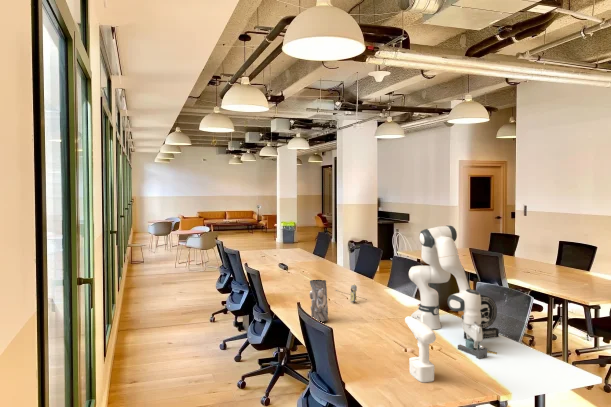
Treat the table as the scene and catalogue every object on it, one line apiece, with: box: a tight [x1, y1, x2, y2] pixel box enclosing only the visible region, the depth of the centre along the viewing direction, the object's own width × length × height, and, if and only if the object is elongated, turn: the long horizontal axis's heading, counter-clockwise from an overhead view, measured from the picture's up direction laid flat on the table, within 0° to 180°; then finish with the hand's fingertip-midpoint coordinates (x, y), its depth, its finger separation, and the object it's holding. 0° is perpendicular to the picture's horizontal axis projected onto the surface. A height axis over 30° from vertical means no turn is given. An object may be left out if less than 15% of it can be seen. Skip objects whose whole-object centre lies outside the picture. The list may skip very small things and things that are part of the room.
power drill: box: [404, 316, 437, 383], centre depth 212 cm, size 8×24×25 cm, turn 13°
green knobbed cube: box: [465, 338, 480, 350], centre depth 247 cm, size 5×5×5 cm
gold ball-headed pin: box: [487, 349, 498, 355], centre depth 240 cm, size 7×2×1 cm, turn 54°
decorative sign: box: [463, 294, 500, 340], centre depth 265 cm, size 22×3×25 cm, turn 105°
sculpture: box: [309, 279, 329, 323], centre depth 301 cm, size 12×12×28 cm
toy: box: [334, 284, 367, 303], centre depth 353 cm, size 10×26×15 cm, turn 107°
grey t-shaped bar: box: [457, 344, 488, 360], centre depth 239 cm, size 16×6×6 cm, turn 29°
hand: (472, 344), depth 247 cm, fingers open, 8 cm apart
